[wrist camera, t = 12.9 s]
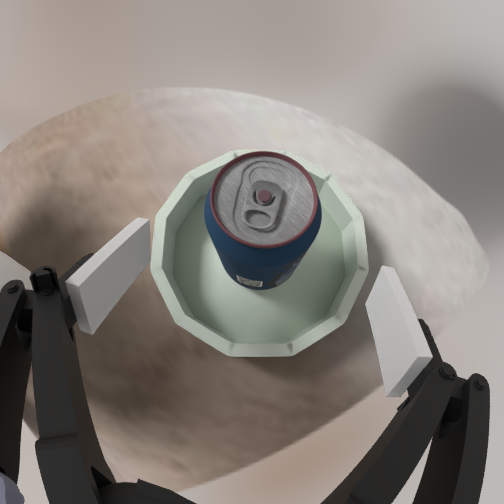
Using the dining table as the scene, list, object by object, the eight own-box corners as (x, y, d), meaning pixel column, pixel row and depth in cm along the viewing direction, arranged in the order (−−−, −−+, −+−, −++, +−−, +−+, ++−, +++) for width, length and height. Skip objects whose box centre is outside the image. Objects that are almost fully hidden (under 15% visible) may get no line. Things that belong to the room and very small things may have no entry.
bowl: (134, 288, 26) (114, 279, 22) (229, 150, 31) (226, 124, 26) (295, 385, 24) (303, 396, 20) (375, 226, 28) (393, 209, 24)
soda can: (234, 211, 27) (222, 132, 16) (304, 229, 27) (337, 159, 15) (212, 280, 26) (179, 238, 14) (287, 301, 25) (315, 274, 14)
